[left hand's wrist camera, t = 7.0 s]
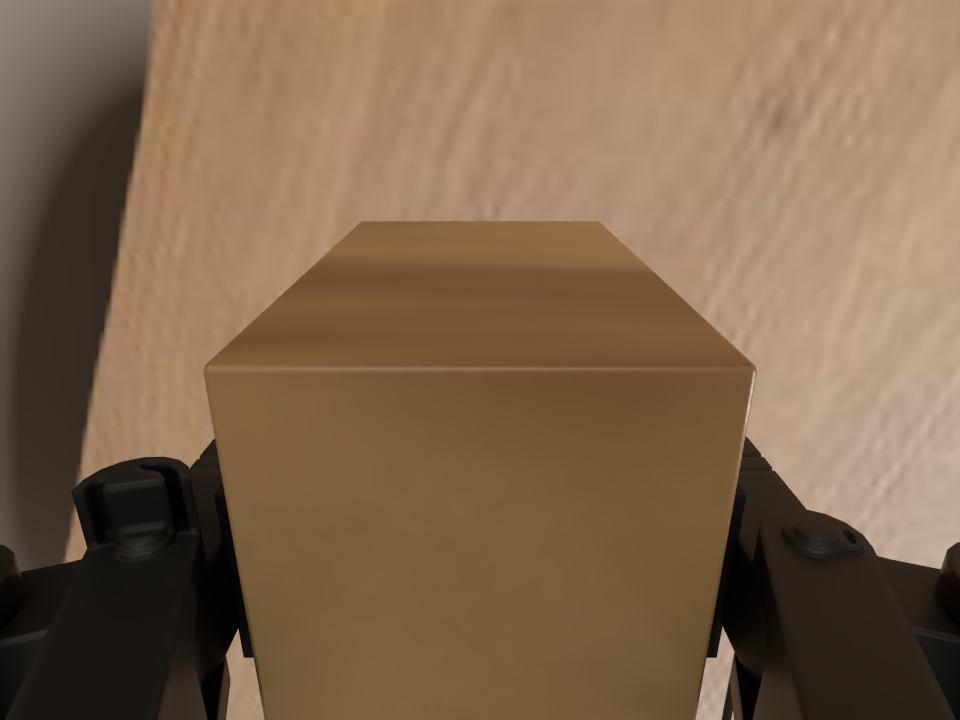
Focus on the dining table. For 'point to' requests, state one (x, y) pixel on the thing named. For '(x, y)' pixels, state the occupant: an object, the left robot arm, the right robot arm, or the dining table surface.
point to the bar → (480, 478)
